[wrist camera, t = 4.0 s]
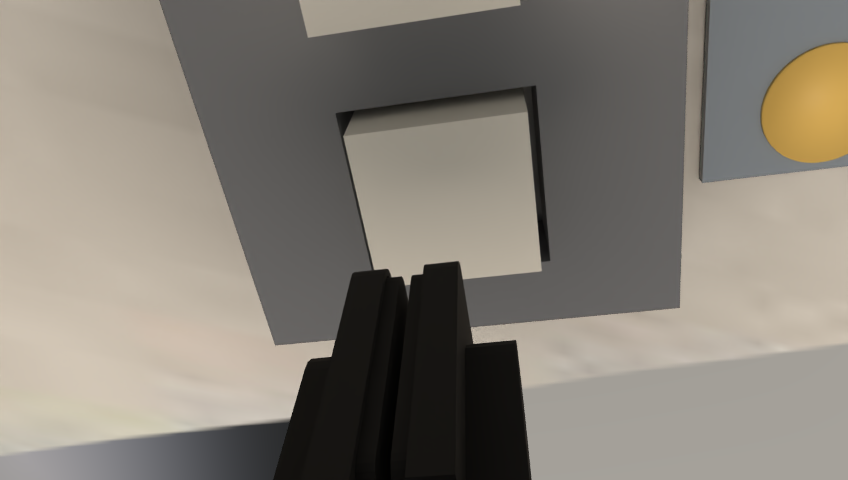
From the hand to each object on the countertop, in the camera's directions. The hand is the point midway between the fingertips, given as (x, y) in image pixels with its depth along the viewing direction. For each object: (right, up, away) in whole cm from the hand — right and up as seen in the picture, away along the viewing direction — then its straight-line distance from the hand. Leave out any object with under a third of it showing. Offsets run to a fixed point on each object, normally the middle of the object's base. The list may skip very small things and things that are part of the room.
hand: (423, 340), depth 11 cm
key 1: (+1, +4, +9) cm, 10 cm away
